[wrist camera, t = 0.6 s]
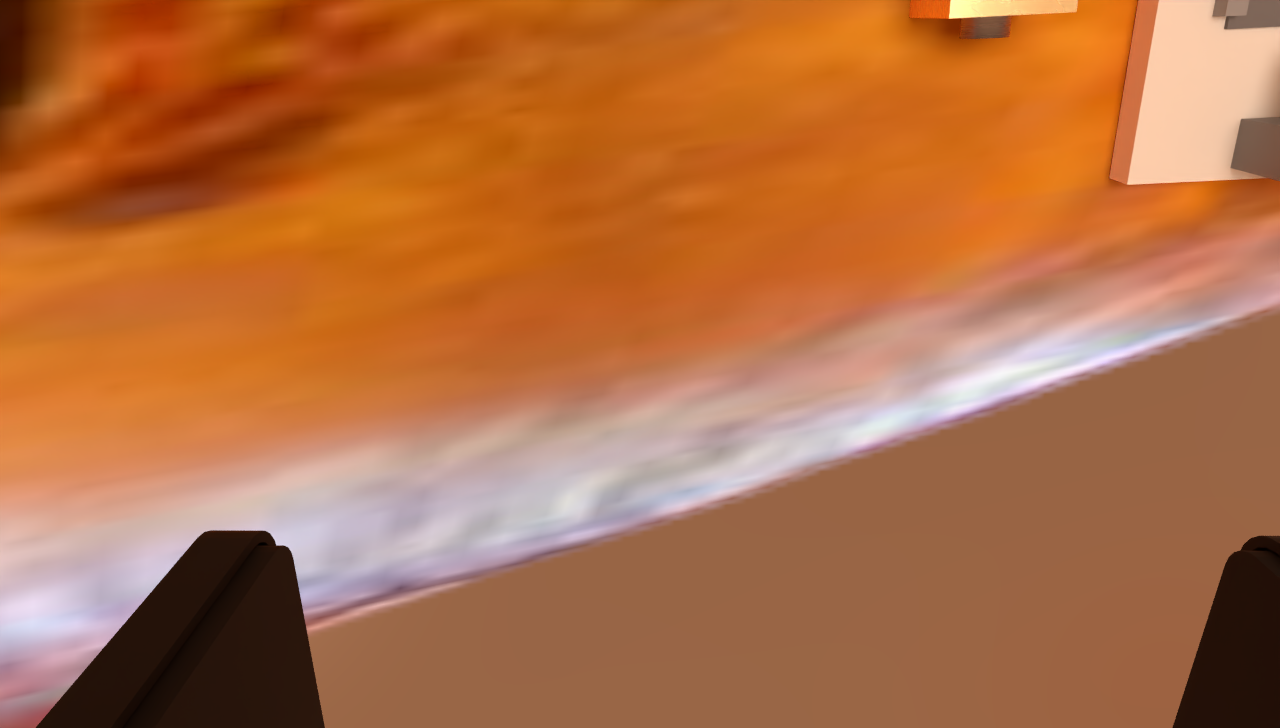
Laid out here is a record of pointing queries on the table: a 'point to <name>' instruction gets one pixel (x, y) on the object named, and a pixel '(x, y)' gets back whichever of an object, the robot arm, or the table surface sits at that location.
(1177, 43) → the shaft frame
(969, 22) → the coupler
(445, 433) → the table surface
